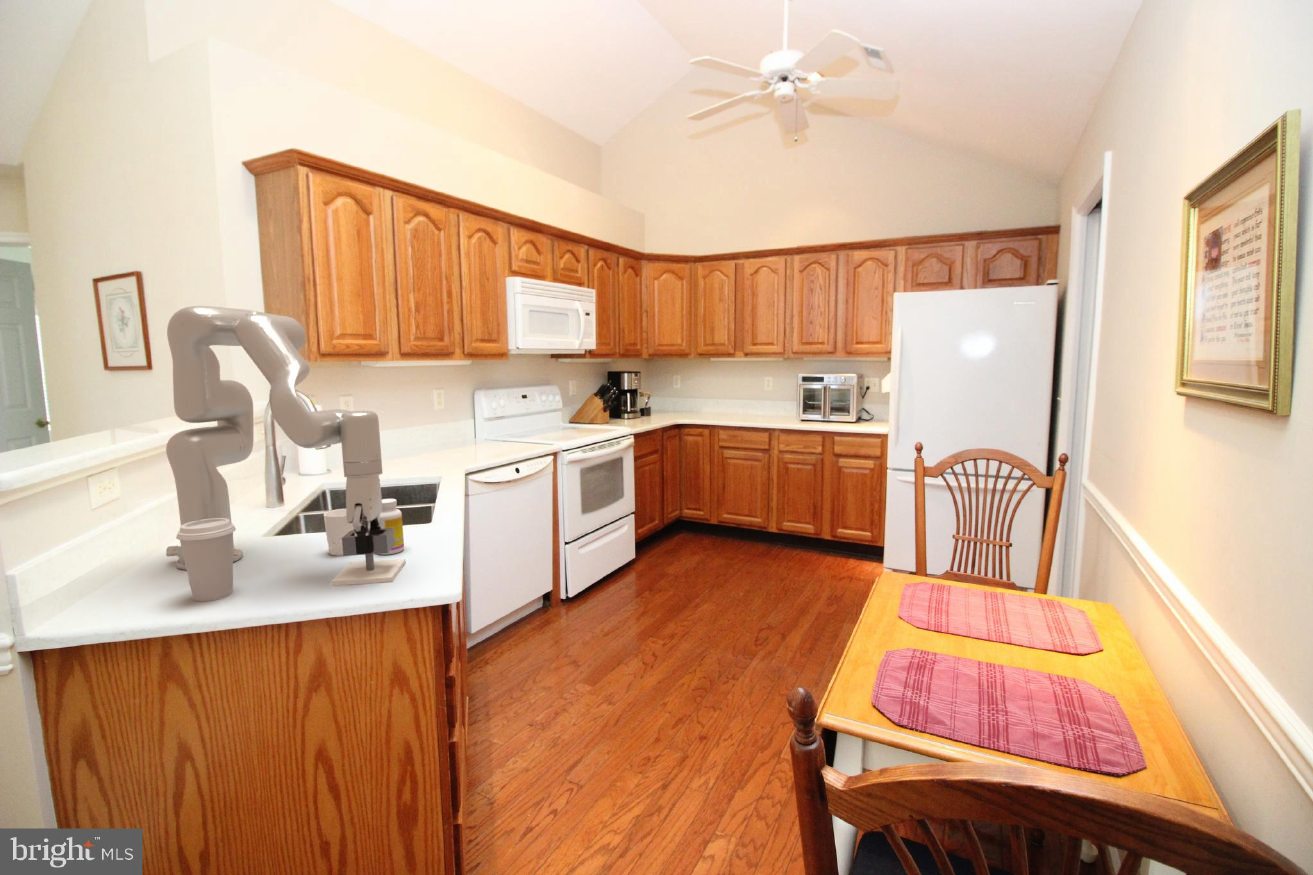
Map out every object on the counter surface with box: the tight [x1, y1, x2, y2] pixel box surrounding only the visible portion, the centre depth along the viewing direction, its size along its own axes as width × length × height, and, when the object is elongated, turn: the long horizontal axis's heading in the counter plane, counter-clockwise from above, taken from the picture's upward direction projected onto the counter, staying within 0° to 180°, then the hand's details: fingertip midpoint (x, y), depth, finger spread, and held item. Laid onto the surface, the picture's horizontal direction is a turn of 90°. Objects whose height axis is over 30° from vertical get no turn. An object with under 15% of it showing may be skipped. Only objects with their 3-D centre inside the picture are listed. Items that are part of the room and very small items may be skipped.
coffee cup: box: [175, 518, 237, 602], centre depth 121 cm, size 10×10×15 cm
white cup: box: [323, 508, 354, 557], centre depth 149 cm, size 8×8×10 cm
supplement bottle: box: [379, 498, 405, 556], centre depth 148 cm, size 7×7×13 cm
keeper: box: [331, 554, 407, 586], centre depth 133 cm, size 12×12×6 cm
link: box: [342, 528, 395, 557], centre depth 132 cm, size 9×6×4 cm, turn 100°
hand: (369, 547), depth 133 cm, fingers closed on link, 6 cm apart
